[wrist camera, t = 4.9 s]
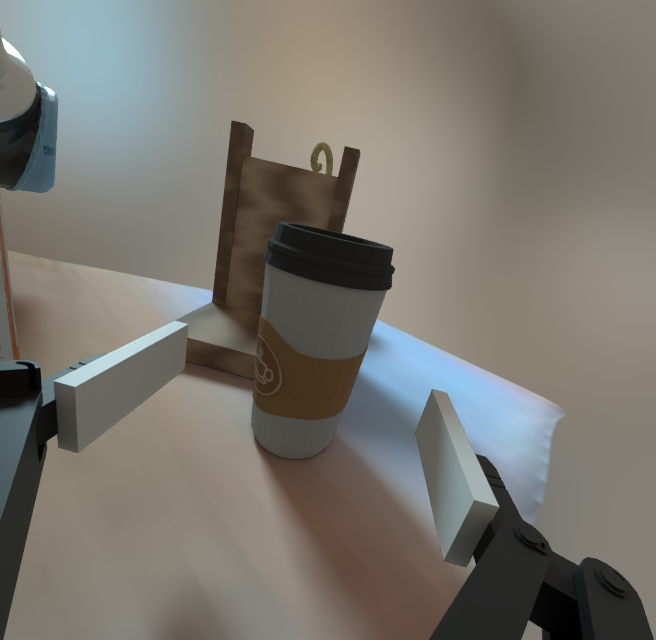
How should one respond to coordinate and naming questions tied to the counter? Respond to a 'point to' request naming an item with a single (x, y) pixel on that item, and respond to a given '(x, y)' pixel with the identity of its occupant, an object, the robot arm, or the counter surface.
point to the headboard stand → (257, 245)
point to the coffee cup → (313, 333)
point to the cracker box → (6, 304)
